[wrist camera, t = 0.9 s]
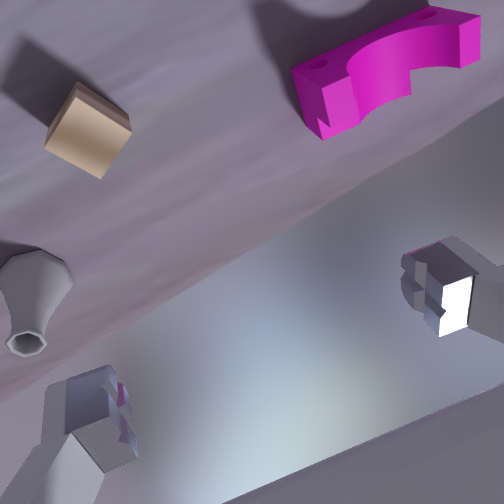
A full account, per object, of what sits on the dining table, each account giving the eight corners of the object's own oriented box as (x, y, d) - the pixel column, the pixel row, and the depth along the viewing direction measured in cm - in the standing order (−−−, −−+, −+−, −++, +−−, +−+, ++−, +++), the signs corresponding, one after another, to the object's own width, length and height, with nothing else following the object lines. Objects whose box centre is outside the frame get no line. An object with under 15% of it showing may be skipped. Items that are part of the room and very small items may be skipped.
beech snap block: (77, 80, 38) (75, 97, 34) (128, 114, 41) (132, 133, 37) (48, 127, 40) (43, 148, 36) (99, 156, 42) (100, 179, 38)
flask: (-19, 271, 45) (-41, 341, 38) (42, 237, 45) (33, 300, 37) (30, 313, 50) (20, 383, 42) (86, 282, 50) (86, 347, 42)
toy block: (305, 125, 47) (336, 152, 41) (290, 67, 43) (321, 88, 37) (431, 67, 47) (480, 85, 41) (427, 5, 43) (480, 15, 38)
